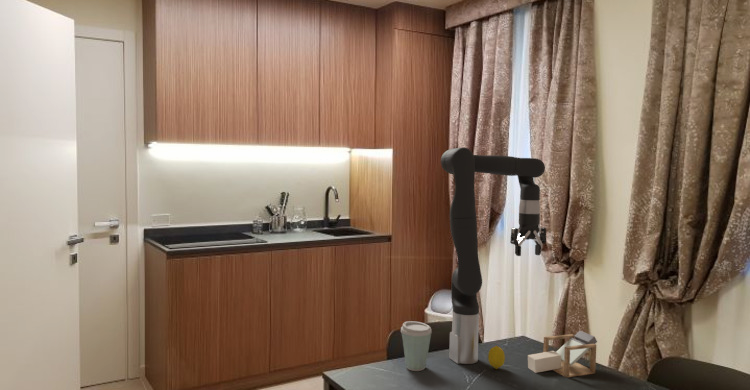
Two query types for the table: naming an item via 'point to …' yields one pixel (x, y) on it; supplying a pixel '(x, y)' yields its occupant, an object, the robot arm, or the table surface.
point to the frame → (566, 368)
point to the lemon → (496, 357)
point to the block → (544, 361)
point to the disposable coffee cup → (416, 344)
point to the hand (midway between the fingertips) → (528, 255)
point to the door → (580, 339)
